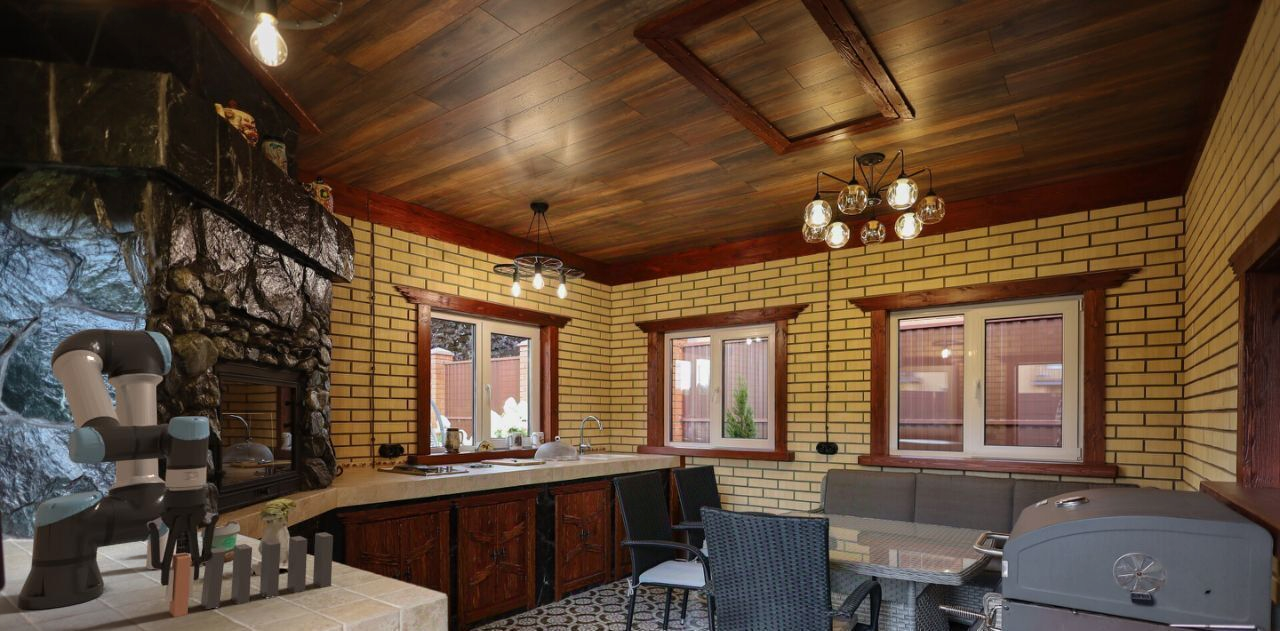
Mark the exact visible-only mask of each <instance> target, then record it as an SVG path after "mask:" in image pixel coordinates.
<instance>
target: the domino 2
mask: <svg viewBox="0 0 1280 631" xmlns="http://www.w3.org/2000/svg"><path fill="white" fill-rule="evenodd" d="M224 559H225V551H223V550H222V549H220V548H212V549H211V554H210V559H209V560H208V561H206V563H205V566H204V574H203V581H202V582H203V584H202V591H201V600H200V605H201V606H202V607H203V608H204V609H205V608H206V609H210V610H212V609H211V608H216V607H219V608H220V603H221V594H222V586H223V575H224V567H225V563H224ZM206 609H205V610H206ZM216 609H217V608H216Z"/></svg>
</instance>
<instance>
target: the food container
mask: <svg viewBox="0 0 1280 631" xmlns="http://www.w3.org/2000/svg"><path fill="white" fill-rule="evenodd" d="M240 531H241V526H240V524H239V521H236V520H227V523H225V524H224V525H217V526H216V525H215V528H214V534H213V541H212V548H220V549H222V550H223V551H225V559H224V564H227V563H230V562H233V555H234V546H235V545H237V538H238V537H237V536H238V532H240ZM204 534H205V528H202V530H201V534H200V537H201V539H202V542H201V543H202V544H201V546H202V547H203V541H204ZM202 547H201V548H202ZM212 548H211V549H212ZM205 563H206V561H205V562H203V563H202V566H203V565H205Z"/></svg>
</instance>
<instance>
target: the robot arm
mask: <svg viewBox="0 0 1280 631" xmlns="http://www.w3.org/2000/svg"><path fill="white" fill-rule="evenodd" d="M171 363H172V351H171V346H170V343H169V341H168V339H167V337H166V336H164V334H162V333H160V332H158V331H149V330H144V329H143V330H142V329H141V330H128V329H109V328H108V329H107V328H104V329H103V328H87V329H83V330H80V331H76V332H74V333H73V334H70V335H69V336H67V337H66V338H65V339H63V340H62V341H61V342H59V343H58V345H57V346H56V347H55V349H54V351H53V353H52V356H51V359H50V366H51V370H52V374H53V376H54V378H56V379H57V380H58V381H59V382H61V384H62V388H63V391H64V394H65V397H66V401H67V403H68V406H69V410H70V412H71V416H72V419H73V421H74V426H75V429H73V430H72V431H71V432H70V435H69V438H68V445H67V446H68V447H67V448H68V457H69V459H70V461H71V463H75V464H92V465H93V464H94V465H95V464H101V463H102V464H103V463H111V462H115V474H116V475H115V480H116V481H115V483H114V484H113V485H111V487H110V488H109V489H108V496H103V495H102V492H100V491H96V490H95V491H93V490H92V491H85V492H78V493H71V494H66V495H61V496H57V497H53V498H51V499H47V500H45V501H43V502H41V503H40V504H39V506H38V507H37V509H36V512H35V518H34V522H33V527H34V528H33V529H34V531H33V532H34V533H33V543H32V555H31V565H30V566H31V567H30V571H29V573H28V576H26V579H25V581H24V583H23V586H22V588H21V590H20V592H19V595H18V599H17V607H18V608H20V609H24V610H25V609H26V610H40V609H41V610H43V609H52V608H54V609H55V608H61V607H66V606H67V607H68V606H71V605H76V604H81V603H85V602H89V601H91V600H94V599H97V598H99V597H101V596H102V595H103V594H104V589H105V587H104V586H105V583H104V579H103V576H102V572H101V571H100V566H99V565H98V560H97V558H98V557H97V555H98V548H103V547H110V546H116V545H123V544H124V545H125V544H131V543H137V542H143V543H144V542H146V541H148V540H150V541H151V565H152V567H153V568H155V569H161V571H160V572H161V574H160V584H161V585H162V586H164V587H165V596H164V597H165V601H166V602H168V603H170V602H171V601H172V595H173V579H174V569H173V568H172V567H170V566H171V562H172V557H173V553H174V549H175V545H176V540H177V537H178V534H179V532H182V531H187V532H188V536H189V545H190V556H191V566H190V582H189V598H188V599H190V598H192V599H193V597H194V596H193V594H194V581H198V580H199V579H200V578H199V577H200V568H201V567H200V566H201V564H203V562H205V561H208V560H209V559H210V554H211V548H212V541H213V534H214V528H215V527H216V524H217V522H218V521H219V520H220V515H219V514H217V513H210V512H208V511H207V509H206V493H207V492H206V490H207V489H206V488H205V485H206V484H207V469H208V453H209V451H208V450H209V439H210V438H209V437H210V435H211V434H210V433H211V432H210V420H209V418H208V417H206V416H175V417H172V418H170V420H169V422H168V423H162V424H158V413H157V410H158V408H157V386H158V385H159V384H161V382H162V381H163V380H164V378H163V376H165V375H167V374H168V373H169V372H170V370H171V367H172V365H171ZM104 375H106V376H107V383H108V384H109V385H110V386H111V387H113V388H114V389H115V390H114V391H115V394H114V395H115V406H114V403H113V402H112V399H111V395H110V393H109V390H108V388H107V385H106V383H105V380H104ZM164 458H165V459H166V468H165V469H166V470H165V471H166V472H165V481H164V480H163V479H162V478H161V477H159V459H164ZM204 518H205V520H204ZM203 520H204V522H205V523H206V524H205V528H204V529H205V534H204V541H203V547H201V555H200V546H199V539H198V535H197V526H198V527H199V524H201V522H202V521H203ZM168 530H169V533H168V539H167V543H166V548H165V552H164V556H163V560H162V562H160V541H159V538H160V537H162V536H164V535H165V534H166V533H167V532H168Z"/></svg>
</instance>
